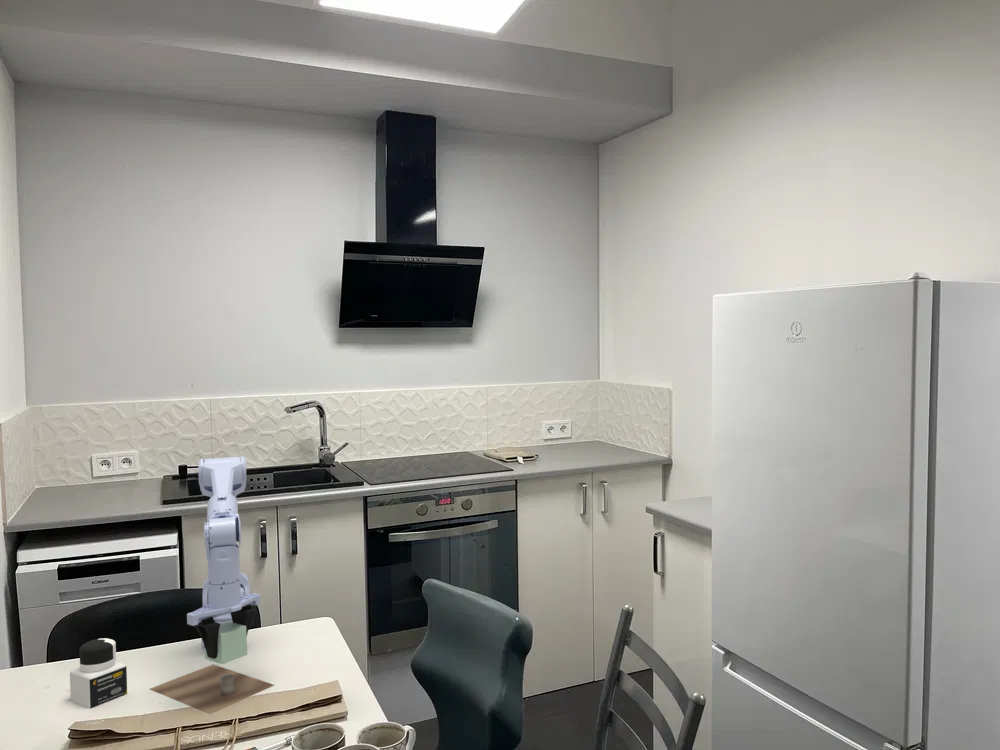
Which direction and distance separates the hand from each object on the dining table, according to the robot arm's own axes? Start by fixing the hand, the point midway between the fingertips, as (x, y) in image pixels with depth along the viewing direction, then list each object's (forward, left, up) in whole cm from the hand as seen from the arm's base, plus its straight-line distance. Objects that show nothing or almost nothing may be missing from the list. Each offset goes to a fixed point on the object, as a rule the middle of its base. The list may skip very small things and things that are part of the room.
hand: (226, 652), depth 139 cm
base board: (-5, 0, -9) cm, 11 cm away
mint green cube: (0, 0, -1) cm, 1 cm away
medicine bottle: (-20, -14, -10) cm, 26 cm away
